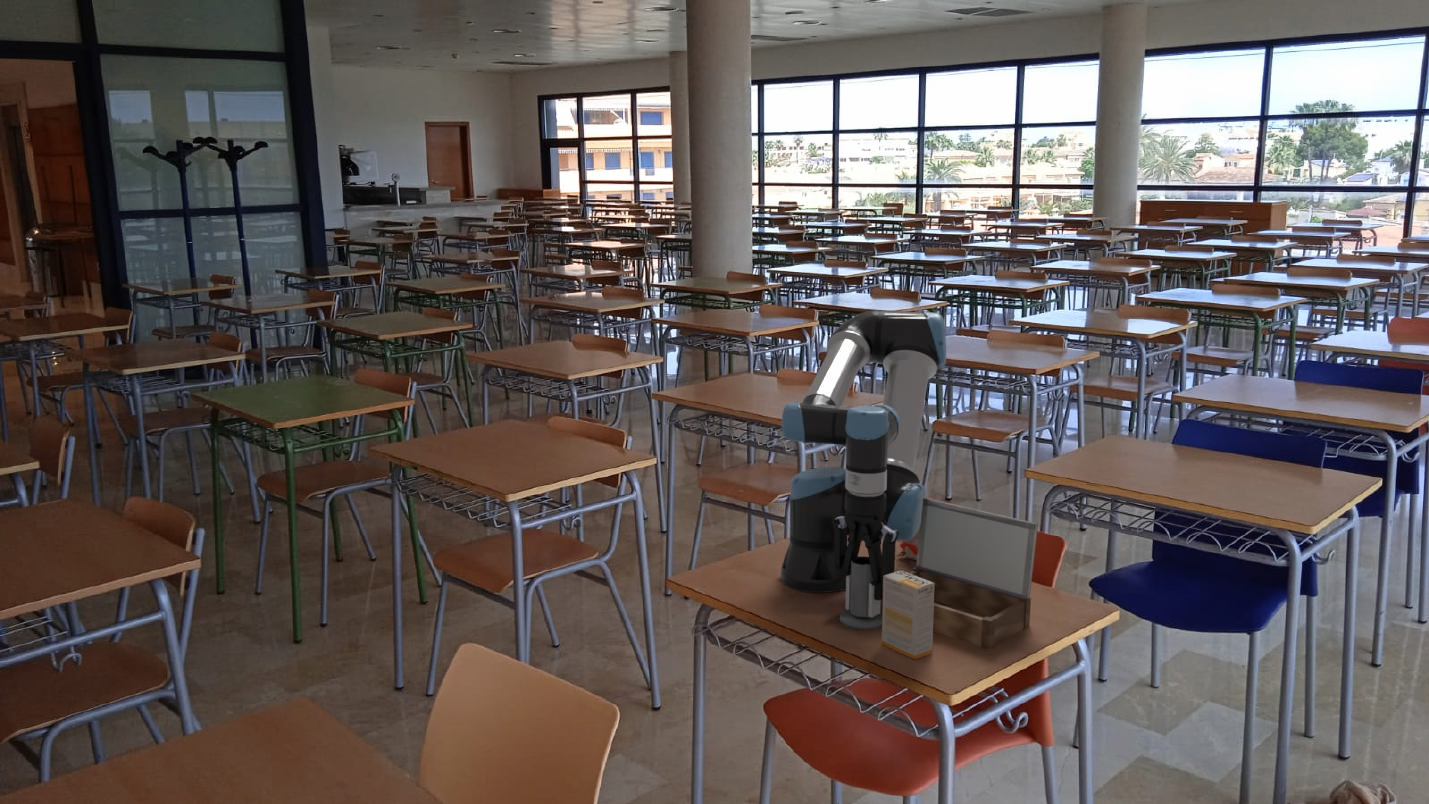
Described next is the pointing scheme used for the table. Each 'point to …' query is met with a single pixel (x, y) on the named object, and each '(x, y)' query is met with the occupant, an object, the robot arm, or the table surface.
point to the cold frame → (984, 632)
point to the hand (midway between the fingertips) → (862, 610)
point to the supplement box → (908, 614)
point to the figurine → (911, 546)
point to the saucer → (860, 621)
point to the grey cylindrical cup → (860, 586)
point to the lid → (977, 547)
